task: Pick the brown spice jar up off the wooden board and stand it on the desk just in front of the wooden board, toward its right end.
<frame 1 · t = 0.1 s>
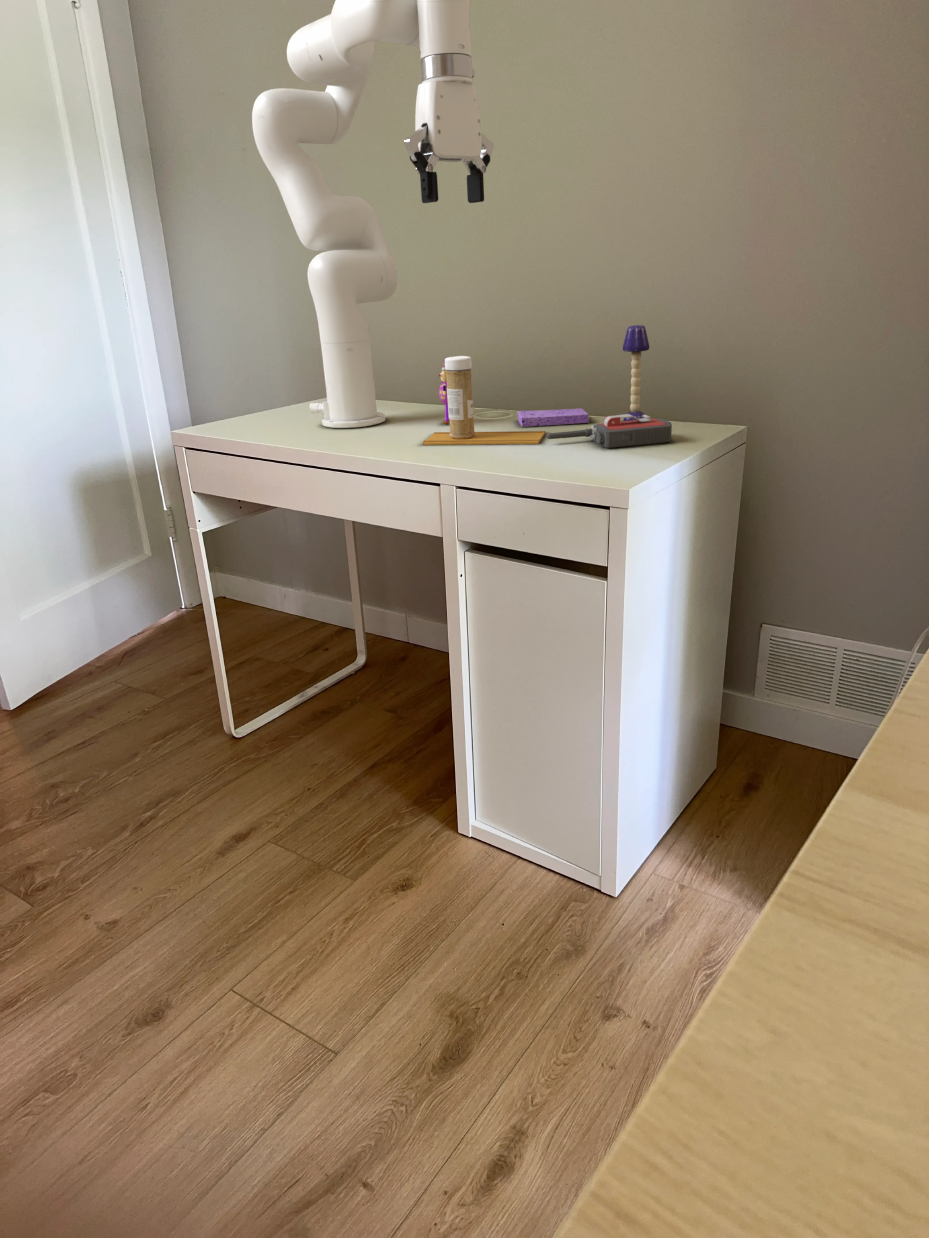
hand: (453, 202, 133), 37 cm above the table, tool pointing down, fingers open, 9 cm apart
walkie-talkie: (611, 444, 140), on the table
purple clown figurine: (449, 424, 164), on the table
sponge: (552, 423, 159), on the table
brown spice jar: (462, 438, 149), resting on wooden board
wooden board: (484, 439, 148), on the table
toy lamp: (634, 423, 155), on the table
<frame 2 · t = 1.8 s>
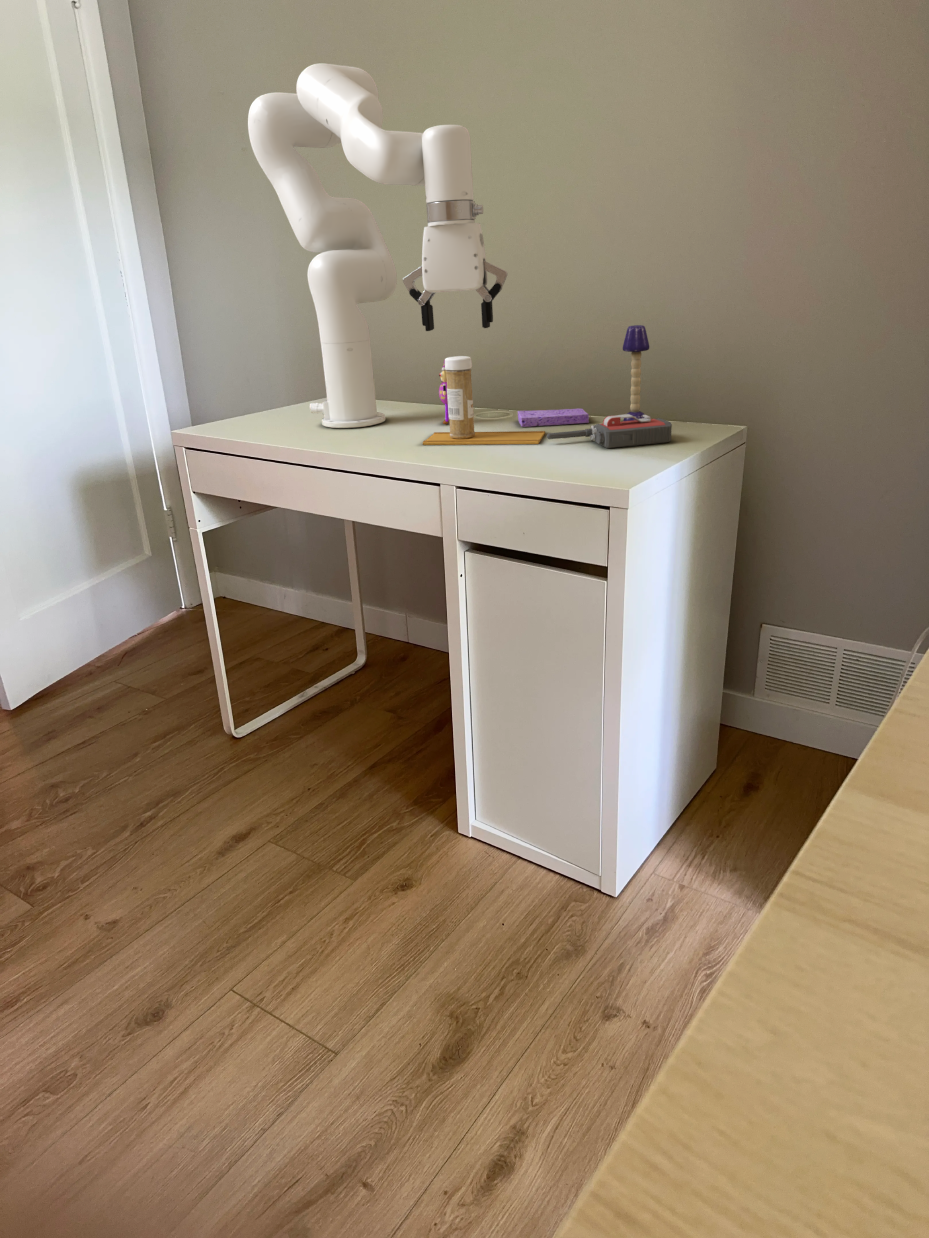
hand: (457, 329, 141), 18 cm above the table, tool pointing down, fingers open, 9 cm apart
nothing on the table moved.
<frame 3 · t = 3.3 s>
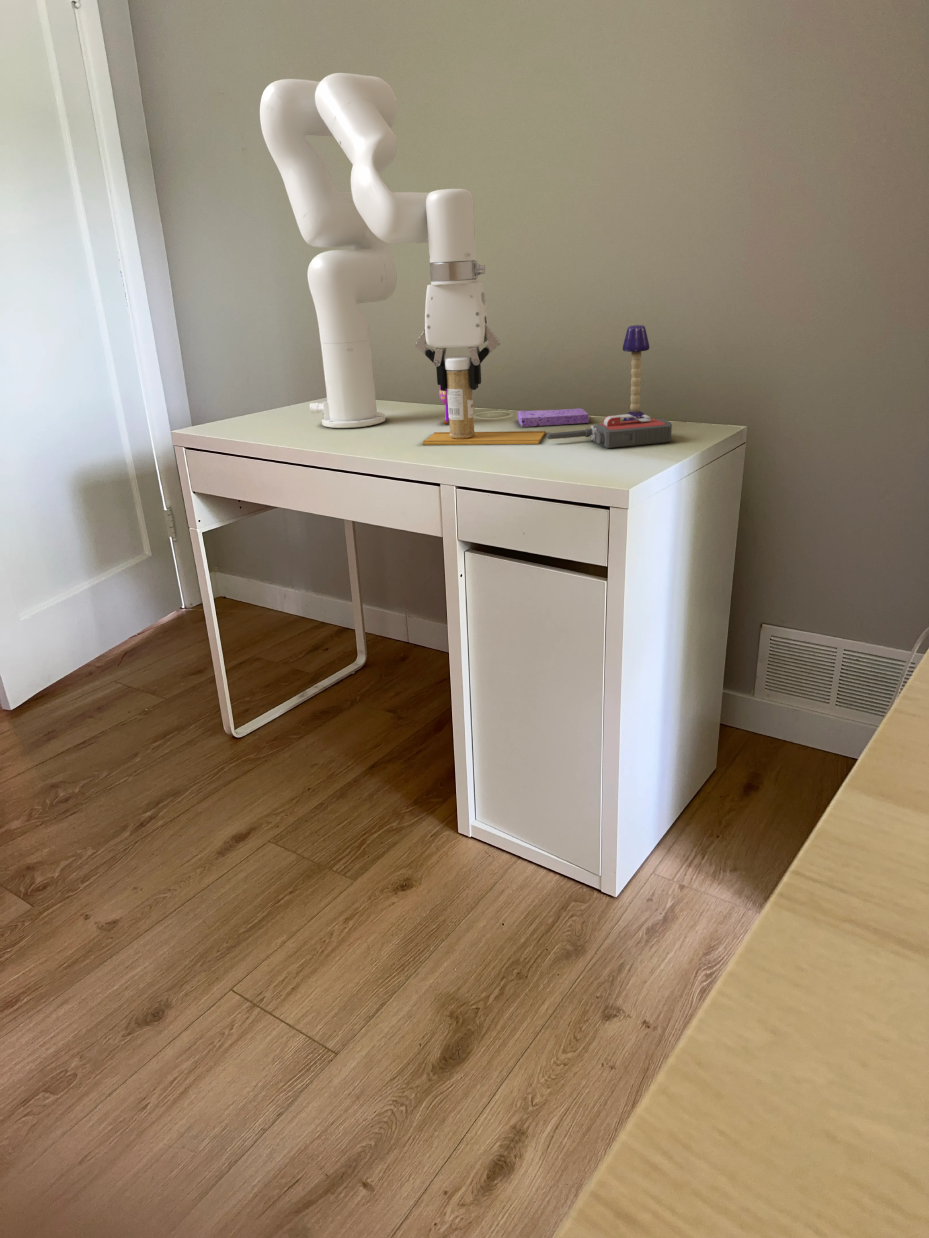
hand: (459, 388, 145), 9 cm above the table, tool pointing down, fingers closed on brown spice jar, 4 cm apart
brown spice jar: (462, 438, 149), resting on wooden board, touching gripper
everything else where it was.
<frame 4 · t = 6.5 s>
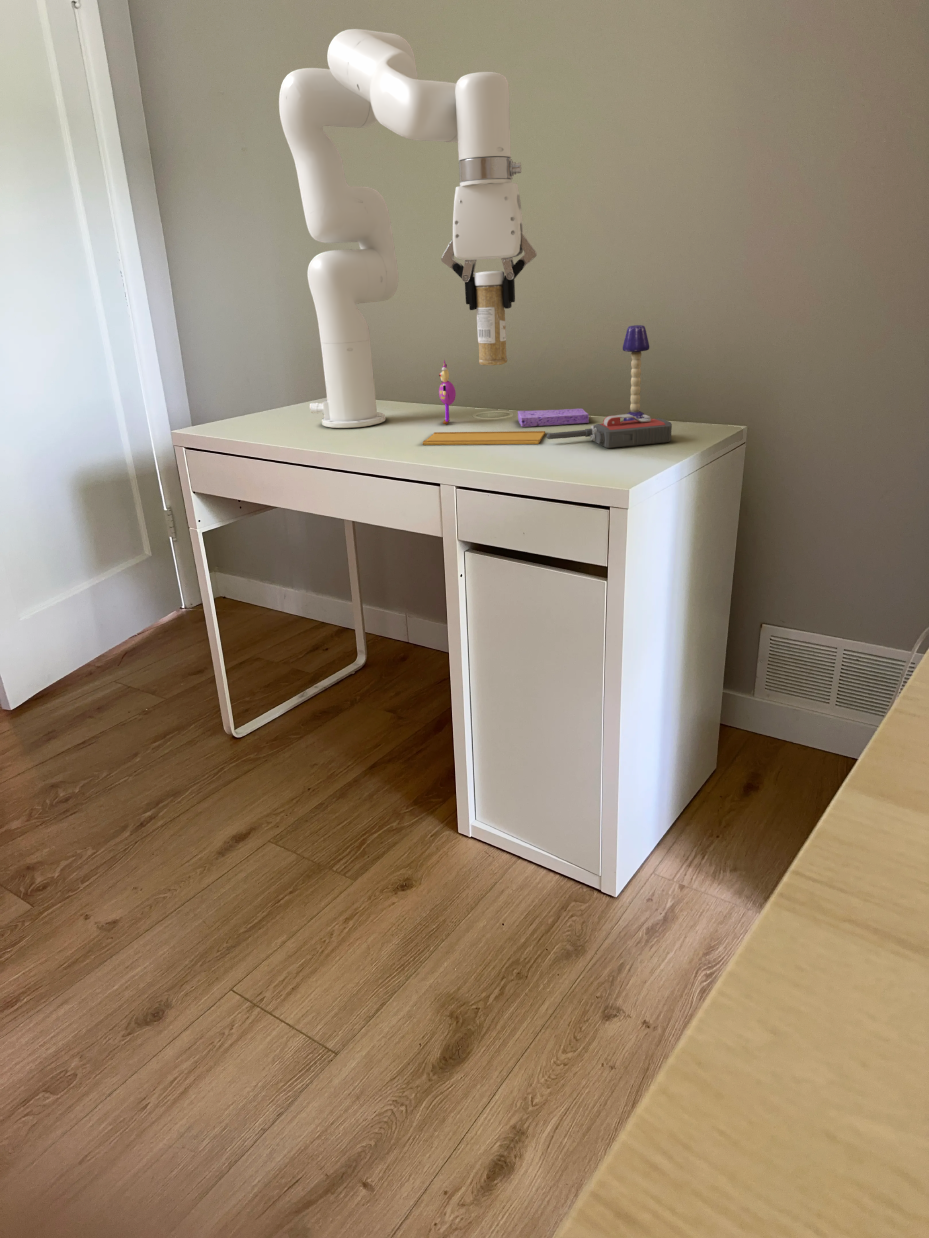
hand: (490, 307, 130), 22 cm above the table, tool pointing down, fingers closed on brown spice jar, 4 cm apart
brown spice jar: (492, 365, 133), point 13 cm above the table, touching gripper
everything else where it was.
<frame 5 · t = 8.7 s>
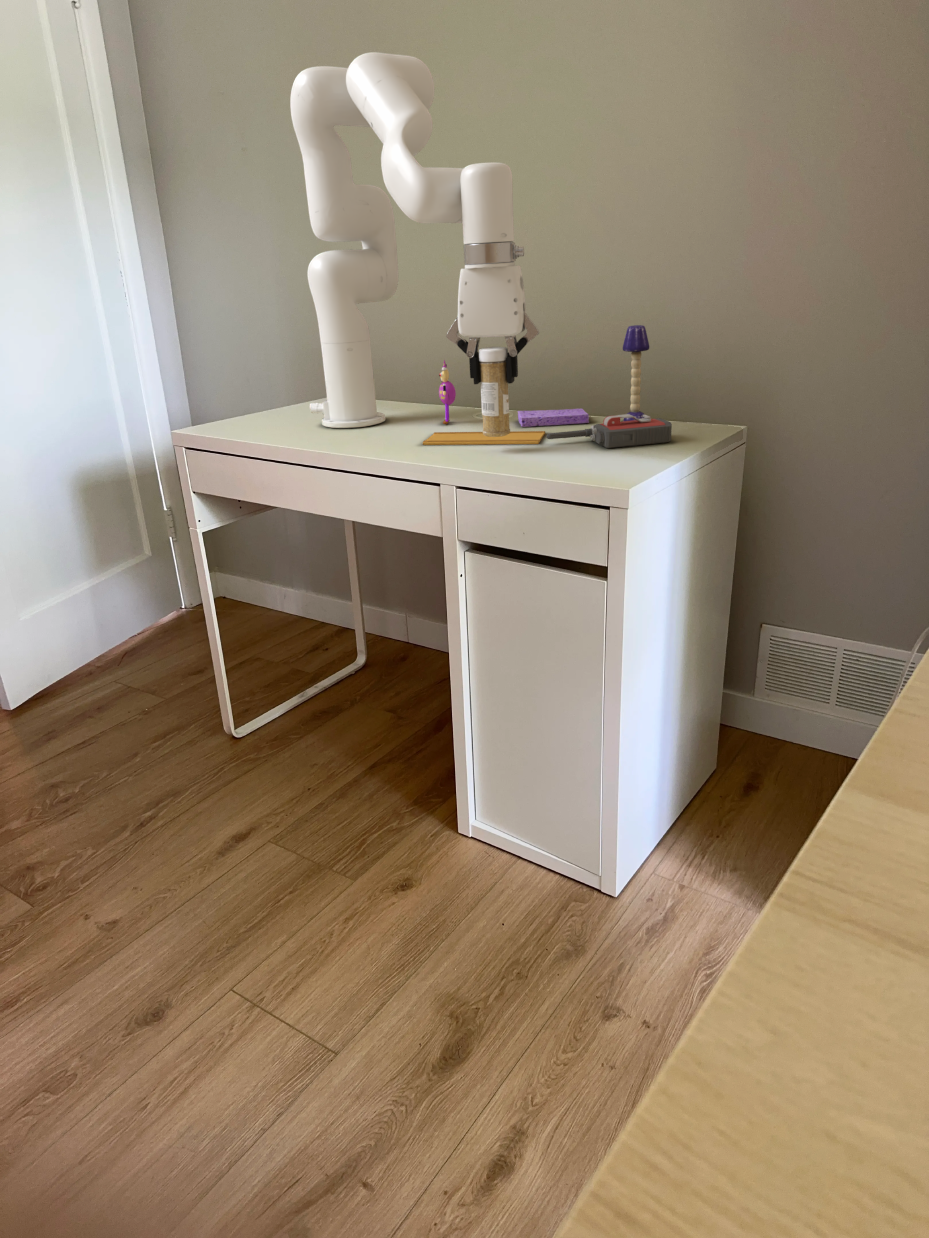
hand: (494, 381, 134), 11 cm above the table, tool pointing down, fingers closed on brown spice jar, 4 cm apart
brown spice jar: (496, 435, 137), point 3 cm above the table, touching gripper
everything else where it was.
when the fingers open (8 cm above the table, at t = 9.9 s): brown spice jar stays where it is, on the table.
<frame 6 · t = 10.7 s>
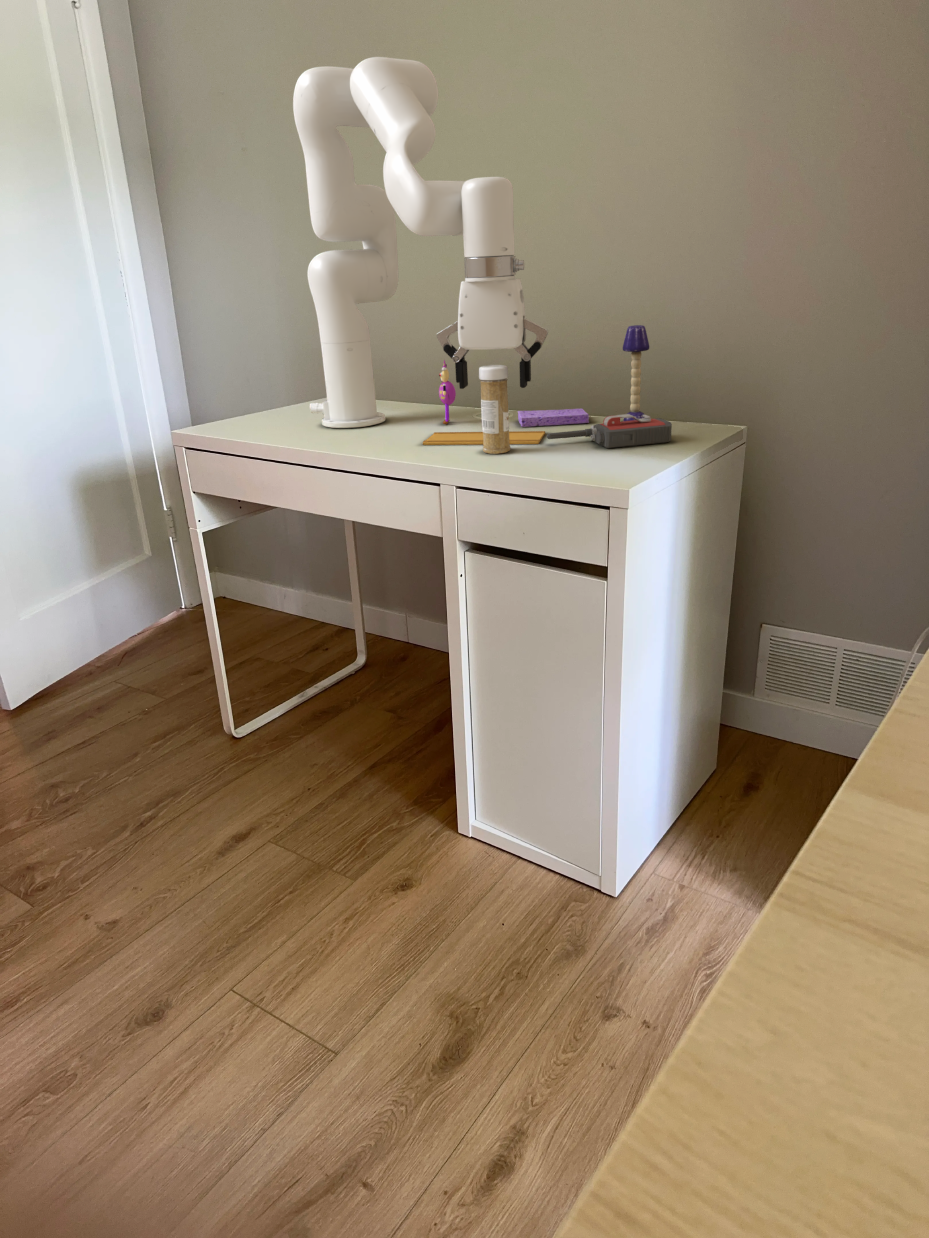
hand: (493, 387, 134), 10 cm above the table, tool pointing down, fingers open, 9 cm apart
brown spice jar: (496, 452, 138), on the table
everything else where it was.
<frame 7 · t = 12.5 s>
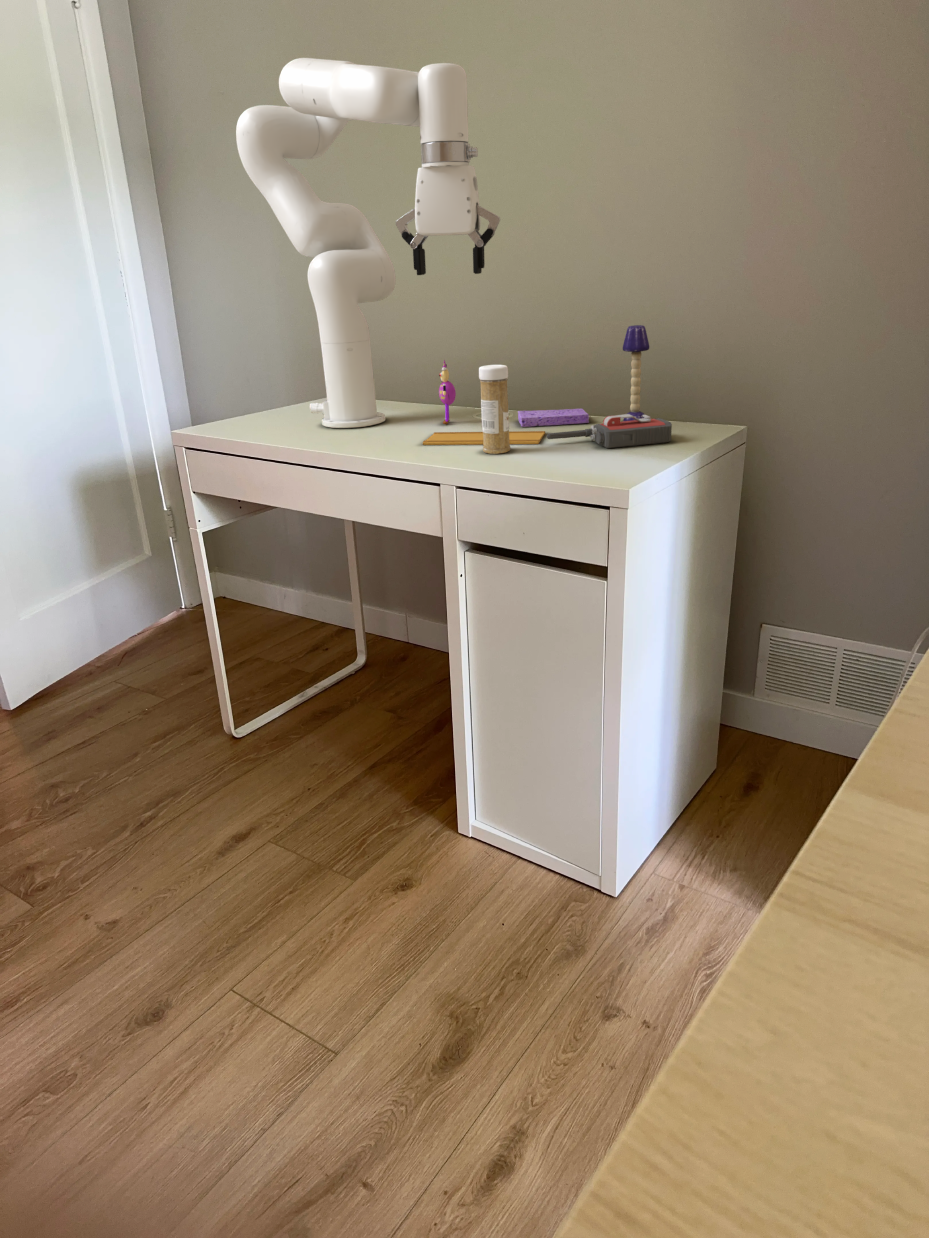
hand: (449, 274, 141), 27 cm above the table, tool pointing down, fingers open, 9 cm apart
nothing on the table moved.
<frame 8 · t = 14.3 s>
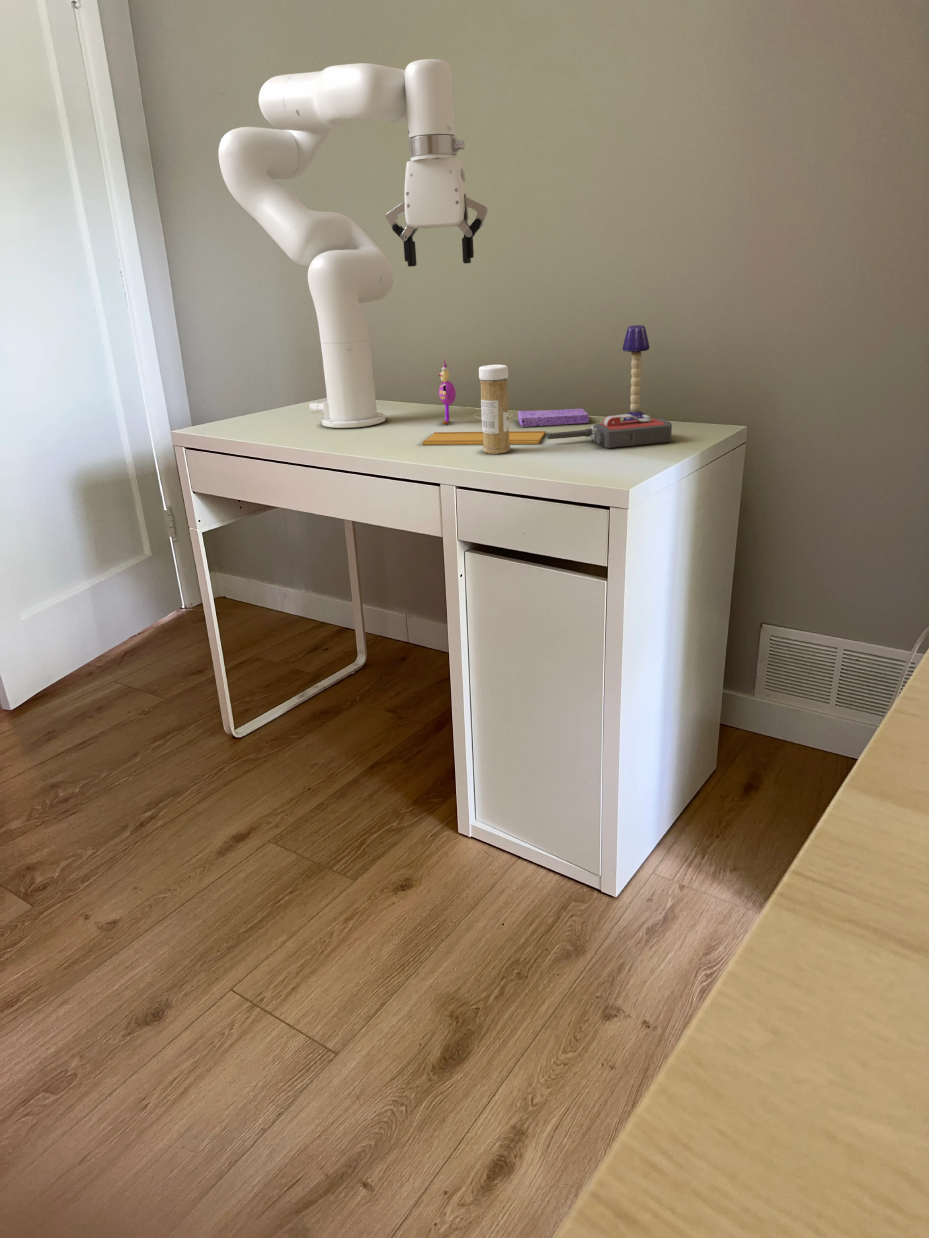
hand: (439, 264, 145), 28 cm above the table, tool pointing down, fingers open, 9 cm apart
nothing on the table moved.
at the end: brown spice jar inside the target area (0.1 cm from its centre), on the table; brown spice jar tilted 0°; brown spice jar touching table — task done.
